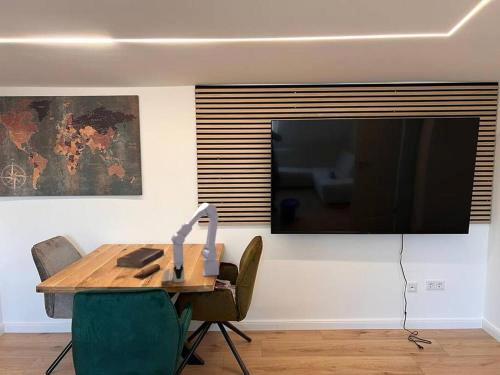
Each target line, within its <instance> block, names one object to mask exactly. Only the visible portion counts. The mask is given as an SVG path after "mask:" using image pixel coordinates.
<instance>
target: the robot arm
mask: <svg viewBox="0 0 500 375" xmlns="http://www.w3.org/2000/svg"><path fill="white" fill-rule="evenodd" d="M217 210H218V209H217V207H216V205H214V204H211V203H207V202H203V203H201V204H200V206H199V207H197V210H196V211H195V212H194V213H193V215H192V217H190V219H189V221H188V222H186V223H184V224H181V227H180V228H179V229H178V230H177V231H176V233H174V234H173V235H172V237H171V238H170V239H171V241H172V244H173V245H172V252H173V254H172V255H173V258H172V259H173V260H172V261H171V264H172V265H173V268H172V269H174V271H175V273H176V278H177V279H181V273H182V270H183V267H184V263H185V262H184V242H185V241H186V238H187V236H189V235H190V233H191V232H192V230H193V226H194V225H195V224H196V223H197V222H198V221H199V220H200V219H201V217H202V218H203V217H205V216H207V218H208V219H209V221H208V226H207V227H208V228H207V235H206V240H205V244H204V245H203V248H202V251H201V255H202V257H203V259H202V260H203V271H202V276H203V277H208V276H219V275H220V263H219V258H217V256H218V254H217V247H216V239H217V238H216V237H217V233H218V232H217V231H218V225H219V224H218V222H219V214H218V211H217Z"/></svg>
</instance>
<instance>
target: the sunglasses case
mask: <svg viewBox="0 0 500 375" xmlns="http://www.w3.org/2000/svg"><path fill="white" fill-rule="evenodd" d="M160 269H161V265H160V264H159V263H157V264H156V263H155V264H151V265H148V266H147V267H143V268H142V269H141V270H140V271H139V272H137V273H136V274H134V275H133V276H132V279H133V278H134V279H142V280H143V279H145V278H146V277H148V276H149V275H151V274H152V273H154V272H156V271H158V270H160Z"/></svg>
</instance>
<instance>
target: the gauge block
mask: <svg viewBox="0 0 500 375" xmlns="http://www.w3.org/2000/svg"><path fill="white" fill-rule="evenodd" d="M182 267H183V270H182V273H181V279H177V278H176V273H175V271H174V269H173V268H172V269H173V283H182V282H185V266H182Z"/></svg>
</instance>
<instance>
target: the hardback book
mask: <svg viewBox="0 0 500 375" xmlns="http://www.w3.org/2000/svg"><path fill="white" fill-rule="evenodd" d="M164 255H165V250H164V249H162V248H151V247H140V248H138V249H135V250H134V251H131V252H129V253H126V254H124V255H122V256H120V257H119V258H117V259H116V266H120V267H131V268H142V269H143V268H145V267H146V266H147V265H149V264H150V263H152V262H154V261H156V260H157V259H160V258H161V257H163V256H164Z"/></svg>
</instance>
